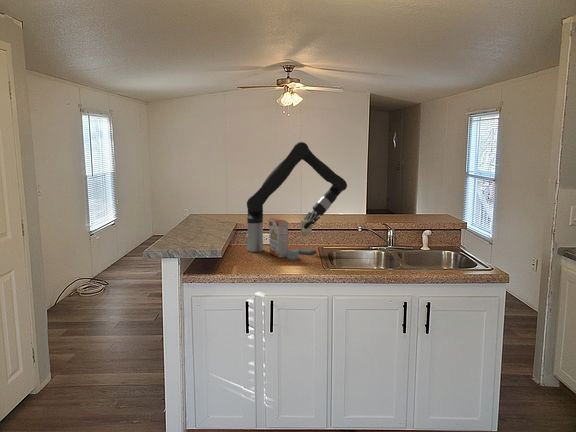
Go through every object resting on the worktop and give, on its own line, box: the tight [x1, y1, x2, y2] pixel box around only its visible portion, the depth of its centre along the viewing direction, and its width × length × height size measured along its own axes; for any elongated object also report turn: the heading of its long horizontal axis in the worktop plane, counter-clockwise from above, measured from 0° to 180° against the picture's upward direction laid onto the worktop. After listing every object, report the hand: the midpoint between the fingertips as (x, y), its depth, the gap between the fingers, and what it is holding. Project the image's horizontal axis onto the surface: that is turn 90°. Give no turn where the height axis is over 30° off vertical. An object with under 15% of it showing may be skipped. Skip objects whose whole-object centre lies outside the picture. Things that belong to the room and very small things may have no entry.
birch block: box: [300, 219, 313, 236], centre depth 286 cm, size 5×5×8 cm
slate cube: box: [287, 249, 300, 261], centre depth 273 cm, size 4×4×4 cm
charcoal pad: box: [296, 248, 317, 256], centre depth 288 cm, size 9×8×2 cm
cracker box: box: [268, 217, 289, 259], centre depth 280 cm, size 14×6×21 cm, turn 25°
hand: (303, 227), depth 286 cm, fingers closed on birch block, 5 cm apart
